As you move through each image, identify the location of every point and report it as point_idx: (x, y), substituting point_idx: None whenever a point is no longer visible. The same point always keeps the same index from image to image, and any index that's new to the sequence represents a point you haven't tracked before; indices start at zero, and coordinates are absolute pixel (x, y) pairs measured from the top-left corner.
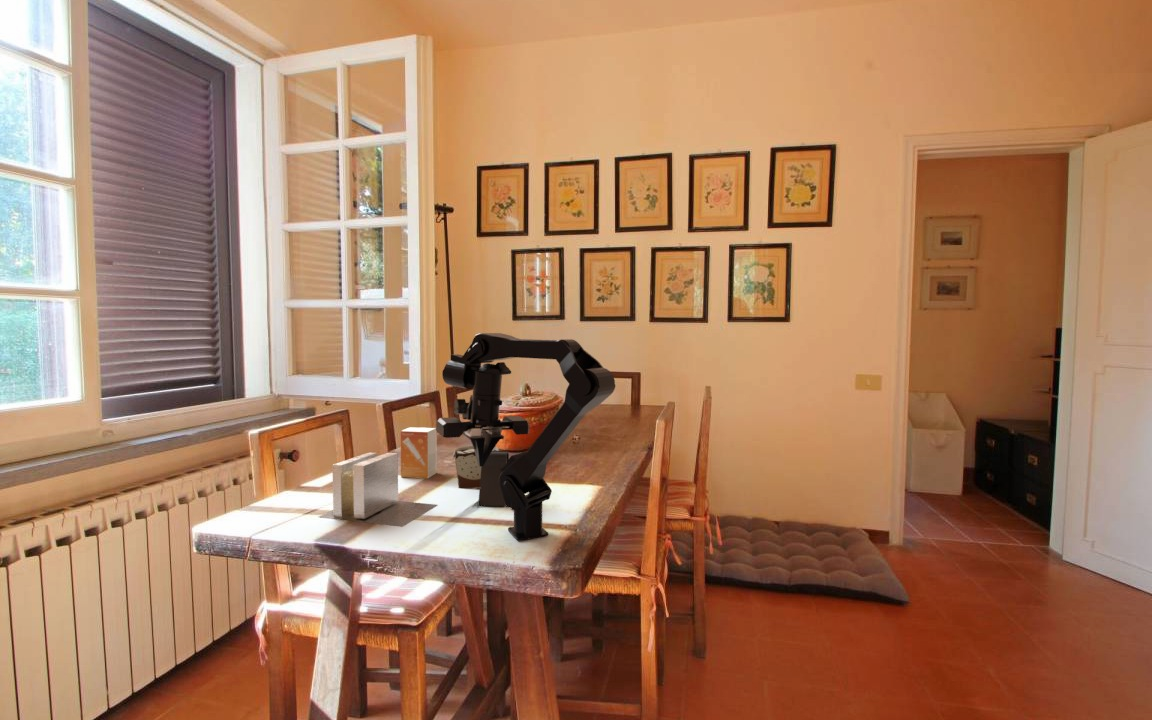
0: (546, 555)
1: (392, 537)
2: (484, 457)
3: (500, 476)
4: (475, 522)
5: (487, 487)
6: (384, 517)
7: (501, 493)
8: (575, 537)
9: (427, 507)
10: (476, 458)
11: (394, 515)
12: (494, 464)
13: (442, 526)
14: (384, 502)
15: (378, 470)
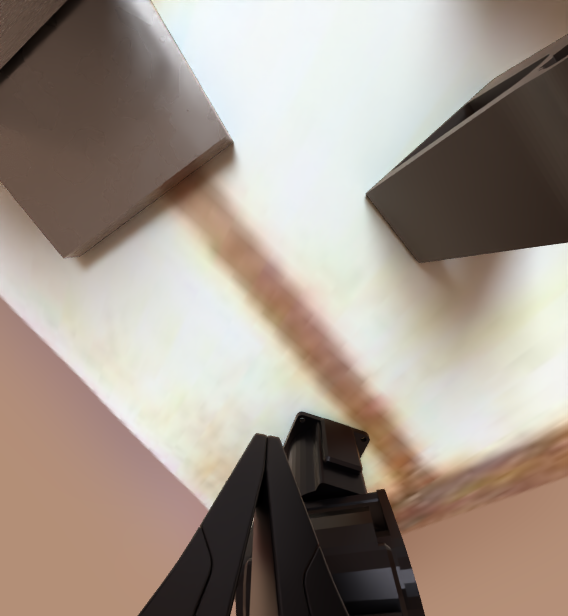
0: None
1: (53, 260)
2: (254, 541)
3: (243, 593)
4: (272, 313)
5: (425, 196)
6: (28, 135)
7: (443, 249)
8: None
9: (184, 136)
10: (235, 467)
11: (61, 139)
12: (559, 173)
13: (187, 278)
14: (11, 15)
15: None
